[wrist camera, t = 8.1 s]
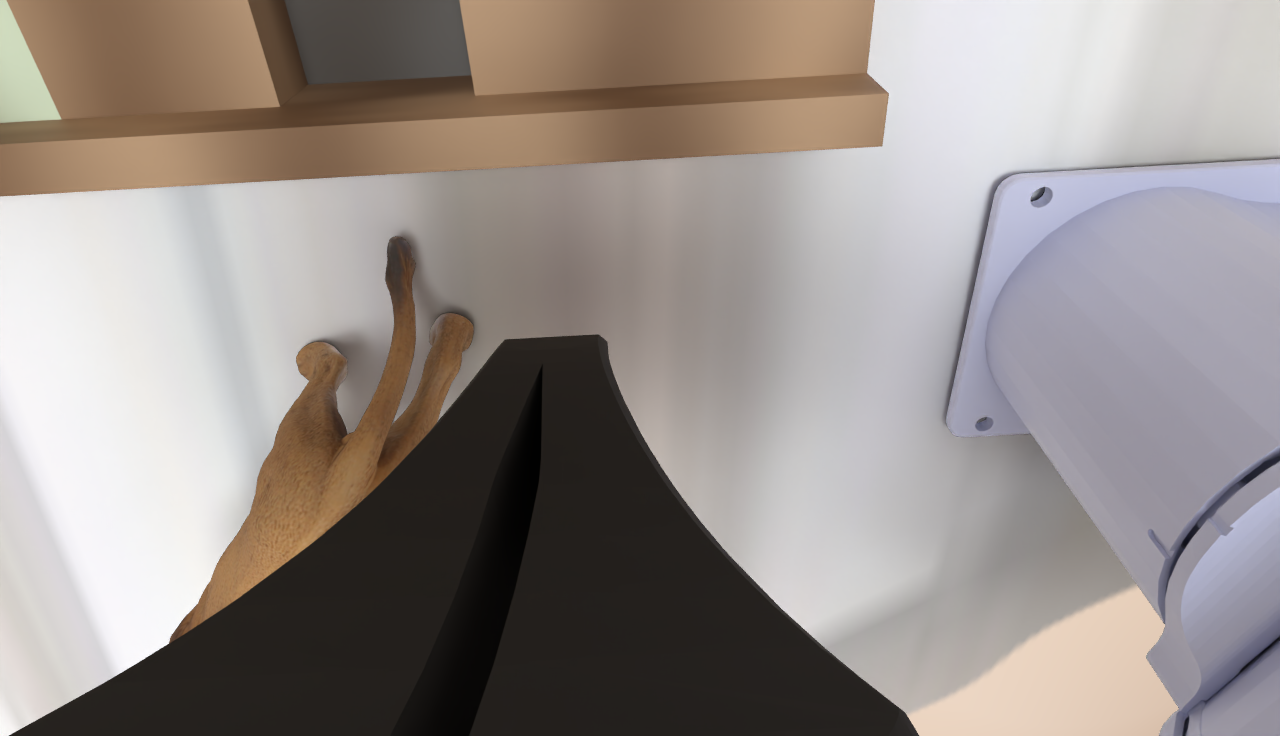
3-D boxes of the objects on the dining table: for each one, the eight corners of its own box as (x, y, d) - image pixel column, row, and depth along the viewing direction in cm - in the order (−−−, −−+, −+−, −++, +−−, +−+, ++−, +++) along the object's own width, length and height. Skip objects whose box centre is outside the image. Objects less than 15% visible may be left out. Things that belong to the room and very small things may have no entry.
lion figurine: (396, 609, 28) (315, 891, 20) (239, 577, 27) (93, 863, 19) (501, 257, 20) (434, 500, 13) (288, 190, 19) (78, 415, 12)
